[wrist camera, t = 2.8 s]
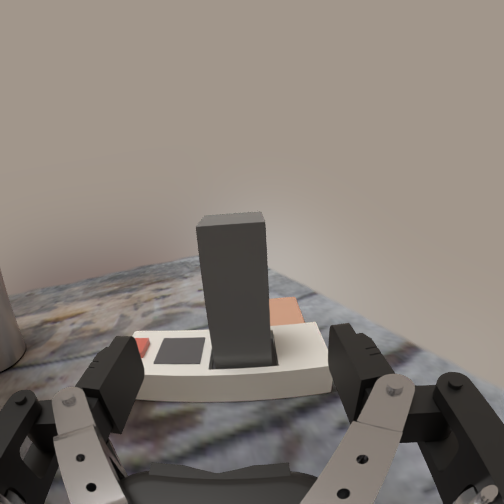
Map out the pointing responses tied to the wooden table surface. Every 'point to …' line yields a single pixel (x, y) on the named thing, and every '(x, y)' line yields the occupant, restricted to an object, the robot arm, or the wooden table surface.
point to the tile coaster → (284, 311)
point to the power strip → (232, 380)
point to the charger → (236, 288)
